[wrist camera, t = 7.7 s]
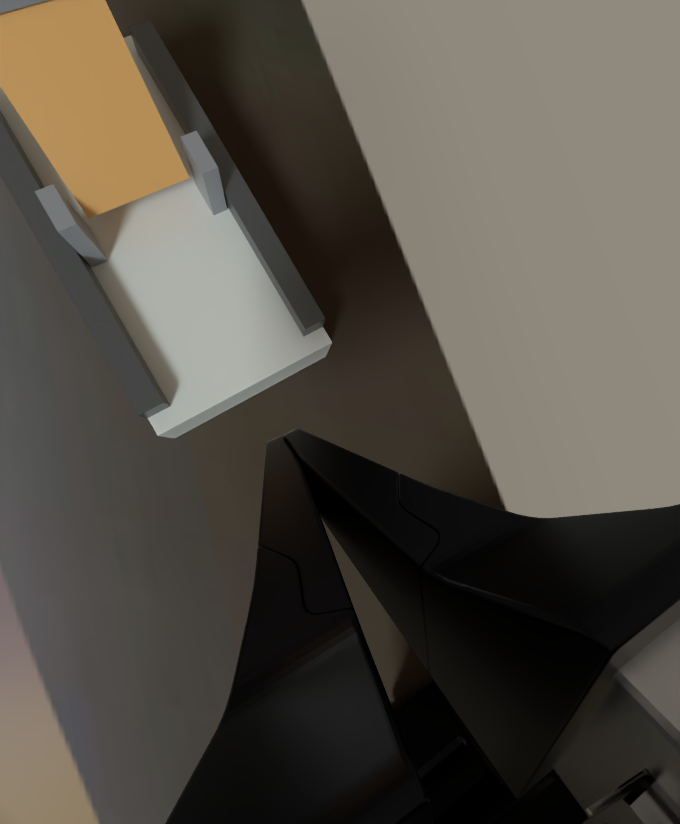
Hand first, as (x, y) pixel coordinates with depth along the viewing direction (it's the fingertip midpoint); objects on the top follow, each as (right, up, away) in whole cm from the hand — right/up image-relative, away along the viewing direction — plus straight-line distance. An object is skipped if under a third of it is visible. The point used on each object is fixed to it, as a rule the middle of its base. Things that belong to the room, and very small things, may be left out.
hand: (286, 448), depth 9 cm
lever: (-8, +11, +9) cm, 16 cm away
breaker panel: (-9, +11, +13) cm, 19 cm away
